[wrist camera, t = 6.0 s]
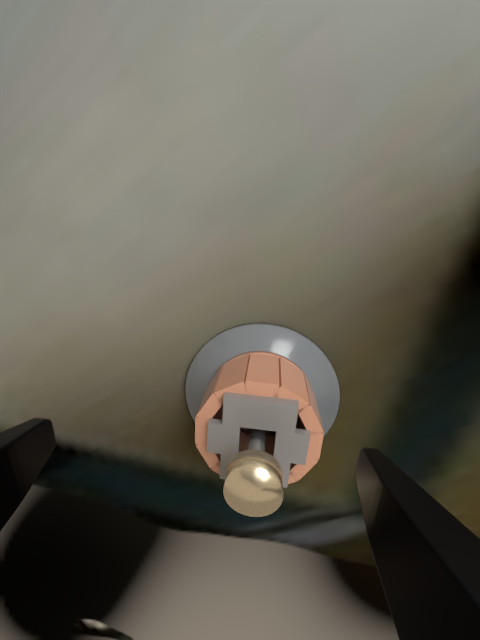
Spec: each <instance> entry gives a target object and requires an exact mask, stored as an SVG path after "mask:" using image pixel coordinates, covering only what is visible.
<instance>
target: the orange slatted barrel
mask: <svg viewBox="0 0 480 640" xmlns="http://www.w3.org/2000/svg"><path fill="white" fill-rule="evenodd" d="M241 427H243V428H251V429H259V430H267V431H276V433H275V435H272V436H266V437H265V452H266V453H268V454H270V455H272V456H273V457H274V458H275V459H276V460H277V461H278V462H279V464H280V466H281V468H282V478H283V487H284V488H287V486H288V484H290V483H293V482H297V479H298V480H300V479H301V478H302V477H303V476H304V475H305V474H306V473H307V472H308V471H309V470H310V469H311V468H312V467H313V466H314V465H315V464H316V463H317V462H318V459H319V458H320V452H321V447H322V441H323V436H324V432H323V427H322V423H321V419H320V414H319V410H318V406H317V402H316V398H315V395H314V393H313V390H312V388H311V385H310V382H309V380H308V378H307V376H306V375H305V373H304V372H303V371H302V369H301V368H299V367H298V366H297V365H296V364H295V363H294V362H292V361H291V360H289V359H288V358H286V357H284V356H281V355H279V354H276V353H272V352H267V351H251V352H246V353H242V354H239V355H237V356H235V357H233V358H231V359H229V360H228V361H226V362H225V363H224V364H223V365H222V366H221V367H220V368H219V369H218V371H217V372H216V374H215V375H214V378H213V379H212V381H211V382H210V383H209V385H208V388H207V390H206V393H205V395H204V398H203V400H202V403H201V405H200V407H199V410H198V412H197V415H196V417H195V444H196V447H197V448H198V450H199V452H200V453H201V455H202V456H203V458H204V460H205V461H206V463H207V464H208V466H209V468H212V469H211V470H213V471H214V472H216V473H218V474H219V475H220V479H225V478H226V472H227V467H228V463H229V461H230V460H231V458H232V457H233V456H234V455H236V454H237V453H239V452H241V451H244V450H248V445H249V436H250V435H249V434H246V433H244V432H242V431H240V428H241Z"/></svg>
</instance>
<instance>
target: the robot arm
mask: <svg viewBox="0 0 480 640" xmlns="http://www.w3.org/2000/svg"><path fill="white" fill-rule="evenodd" d="M55 444H56V440H55V435H54V430H53V425H52V422H51V420H50V419H46V418H34V419H31V420H29V421H26V422H24V423H22V424H19V425H17V426H15V427H12V428H10V429H8V430H5V431H3V432H1V433H0V531H1V530H2V528H3V527H4V525H5V524H6V523H7V522H8V520H9V519H10V517H11V516H12V515H13V513H14V512H15V511H16V509H17V508H18V506H19V505H20V503H21V502H22V501H23V499H24V497H25V496H26V494H27V493H28V491H29V489H30V488H31V486H32V485H33V483H34V481H35V480H36V478H37V476H38V475H39V473H40V471H41V470H42V468H43V467H44V465H45V463H46V462H47V460H48V458H49V457H50V455H51V453H52V452H53V450H54V448H55ZM356 481H357V486H358V491H359V495H360V500H361V505H362V510H363V515H364V520H365V525H366V530H367V534H368V538H369V542H370V546H371V549H372V553H373V556H374V559H375V562H376V566H377V569H378V572H379V575H380V578H381V582H382V585H383V588H384V591H385V595H386V598H387V601H388V604H389V608H390V611H391V614H392V617H393V620H394V624H395V627H396V630H397V633H398V637H399V640H480V539H479V538H478V537H477V536H476V535H474V534H473V533H472V532H471V531H470V530H469V529H468V528H467V527H465V526H464V525H463V524H462V523H461V522H460V521H459V520H458V519H456V518H455V517H454V516H453V515H452V514H451V513H450V512H448V511H447V510H446V509H445V508H444V507H443V506H442V505H441V504H439V503H438V502H437V501H436V500H435V499H434V498H433V497H432V496H430V495H429V494H428V493H427V492H426V491H425V490H424V489H422V488H421V487H420V486H419V485H418V484H417V483H416V482H415V481H413V480H412V479H411V478H410V477H409V476H408V475H407V474H406V473H404V472H403V471H402V470H401V469H400V468H399V467H398V466H396V465H395V464H394V463H393V462H392V461H391V460H390V459H389V458H387V457H386V456H385V455H384V454H383V453H382V452H381V451H379V450H378V449H375V448H366V447H363V448H362V449H361V450H360V453H359V458H358V463H357V468H356Z"/></svg>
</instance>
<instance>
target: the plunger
mask: <svg viewBox="0 0 480 640" xmlns="http://www.w3.org/2000/svg"><path fill="white" fill-rule="evenodd" d="M240 431H242V432H244V433H246V434H249V435H250V436H249V445H248V450H244V451H241V452H239V453H237V454H236V455H234V456H233V457H232V458H231V460H230V461H229V463H228V467H227V472H226V478H225V483H224V488H223V494H224V498H225V500H226V502H227V503H228V505H229V506H230V507H231V508H232V509H234V510H235V511H237V512H239V513H241V514H243V515H246V516H251V517H262V516H266V515H269V514H271V513H273V512H275V511H276V510H277V509H278V508H279V507H280V505H281V503H282V501H283V478H282V468H281V466H280V464H279V462H278V461H277V460H276V459H275V458H274V457H273V456H272V455H270V454H268V453H266V452H265V437H266V436H272V435H275V433H276V431H267V430H259V429H251V428H243V427H241V428H240Z"/></svg>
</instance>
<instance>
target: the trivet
mask: <svg viewBox="0 0 480 640" xmlns="http://www.w3.org/2000/svg"><path fill="white" fill-rule="evenodd" d="M251 351H267V352H272V353H276V354H279V355H281V356H284V357H286V358H288V359H289V360H291V361H292V362H294V363H295V364H296V365H297V366H298V367H299V368H301V369H302V371H303V372H304V373H305V375H306V376H307V378H308V380H309V382H310V385H311V388H312V390H313V393H314V395H315V398H316V402H317V406H318V410H319V414H320V419H321V423H322V427H323V432H324V435H325V434H326V433H327V432H328V431H329V429H330V427H331V426H332V424H333V422H334V420H335V418H336V415H337V412H338V408H339V401H340V390H339V384H338V379H337V377H336V374H335V371H334V369H333V366H332V365H331V363H330V361H329V359H328V358H327V356H326V355H325V354H324V352H323V351H322V350H321V349H320V348H319V347H318V346H317V345H316V344H315V343H314V342H313V341H311V340H310V339H309V338H308V337H306V336H304V335H303V334H301V333H299V332H297V331H295V330H293V329H290V328H288V327H284V326H281V325H277V324H270V323H249V324H243V325H238V326H235V327H232V328H229V329H227V330H225V331H223V332H221V333H219V334H217V335H216V336H214V337H213V338H212V339H210V340H209V341H208V342H207V343H206V344H205V345H204V346H203V347H202V348H201V350H200V351H199V352H198V353H197V355H196V357H195V358H194V360H193V362H192V364H191V366H190V368H189V371H188V374H187V379H186V388H185V392H186V401H187V405H188V408H189V411H190V414H191V416H192V418H193V420H194V422H195V417H196V415H197V412H198V410H199V407H200V405H201V403H202V400H203V398H204V395H205V393H206V390H207V388H208V385H209V383H210V382H211V381H212V379H213V378H214V375H215V374H216V372H217V371H218V369H219V368H220V367H221V366H222V365H223V364H224V363H225V362H226V361H228V360H229V359H231V358H233V357H235V356H237V355H239V354H242V353H246V352H251ZM323 437H324V436H323Z"/></svg>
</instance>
